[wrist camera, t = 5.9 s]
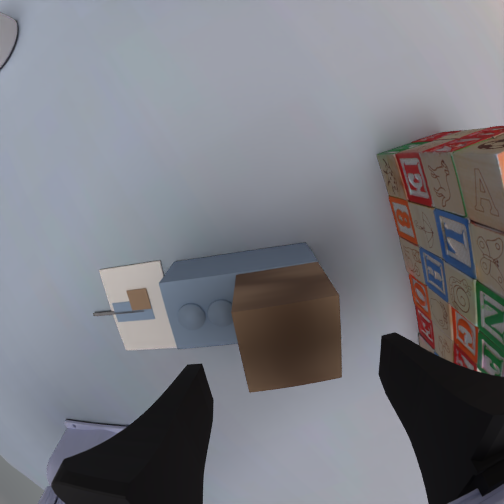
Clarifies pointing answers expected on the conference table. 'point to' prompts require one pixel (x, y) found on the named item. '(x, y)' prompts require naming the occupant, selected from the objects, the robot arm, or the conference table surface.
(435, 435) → the robot arm
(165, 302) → the base brick
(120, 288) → the page
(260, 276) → the walnut brick
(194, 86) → the conference table surface
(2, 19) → the can
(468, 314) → the stack of blocks
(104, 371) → the conference table surface
